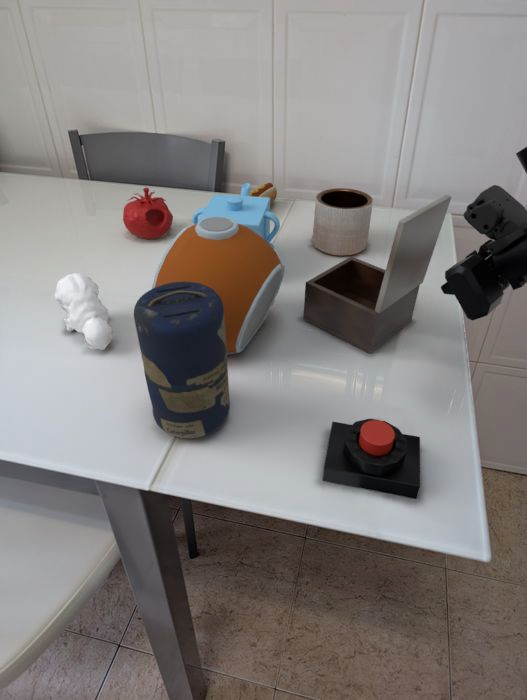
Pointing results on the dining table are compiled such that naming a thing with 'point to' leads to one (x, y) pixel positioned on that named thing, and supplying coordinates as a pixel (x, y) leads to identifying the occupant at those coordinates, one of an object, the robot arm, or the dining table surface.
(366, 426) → the button
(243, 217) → the teapot
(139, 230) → the red tomato
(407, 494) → the switch block
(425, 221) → the grey square plate
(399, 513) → the dining table surface
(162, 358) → the canister
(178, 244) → the alarm clock
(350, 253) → the planter
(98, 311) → the white animal figurine
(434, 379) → the dining table surface
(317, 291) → the wooden box
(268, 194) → the food
